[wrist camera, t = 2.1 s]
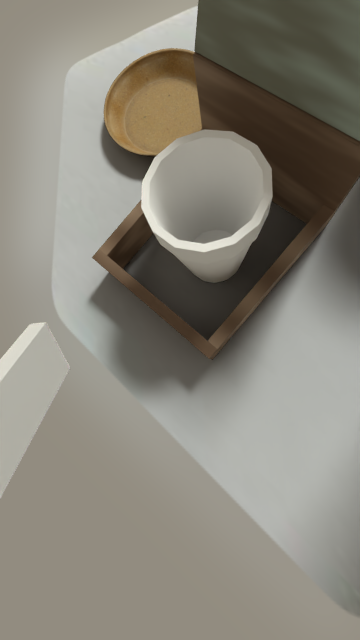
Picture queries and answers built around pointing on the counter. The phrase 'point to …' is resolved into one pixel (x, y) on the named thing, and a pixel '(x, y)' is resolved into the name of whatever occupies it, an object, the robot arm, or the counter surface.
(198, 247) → the foam cup
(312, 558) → the counter surface
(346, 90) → the cold frame
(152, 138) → the plant saucer
